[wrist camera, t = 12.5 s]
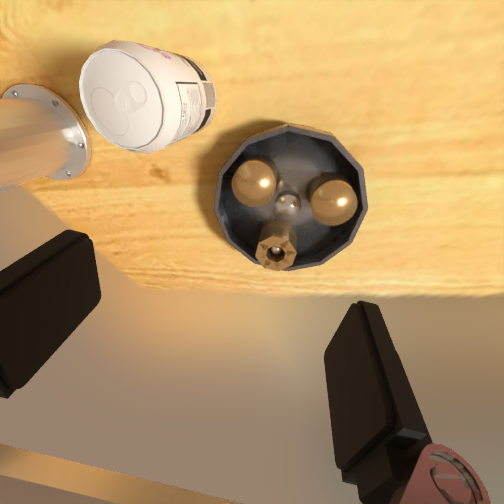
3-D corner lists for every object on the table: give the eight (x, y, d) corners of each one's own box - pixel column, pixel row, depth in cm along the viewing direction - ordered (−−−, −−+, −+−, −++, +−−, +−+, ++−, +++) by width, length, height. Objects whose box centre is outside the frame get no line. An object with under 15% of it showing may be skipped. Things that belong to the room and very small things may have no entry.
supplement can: (179, 142, 37) (119, 172, 24) (142, 79, 33) (49, 74, 20) (229, 114, 34) (191, 131, 21) (195, 41, 30) (125, 9, 18)
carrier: (214, 240, 44) (203, 261, 39) (232, 107, 33) (221, 112, 28) (330, 268, 44) (334, 292, 39) (386, 144, 33) (403, 155, 28)
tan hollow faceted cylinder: (264, 217, 39) (261, 233, 35) (299, 226, 39) (300, 242, 35) (257, 247, 42) (253, 264, 38) (289, 255, 42) (289, 273, 38)
